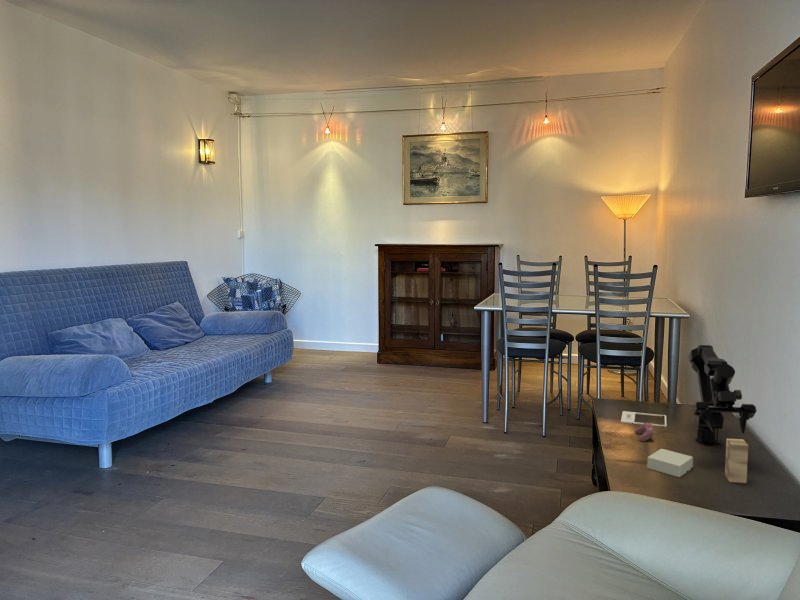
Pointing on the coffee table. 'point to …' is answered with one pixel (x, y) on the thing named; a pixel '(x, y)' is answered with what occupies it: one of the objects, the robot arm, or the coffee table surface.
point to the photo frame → (630, 417)
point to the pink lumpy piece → (645, 431)
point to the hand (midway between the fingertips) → (728, 432)
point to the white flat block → (670, 462)
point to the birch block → (736, 460)
